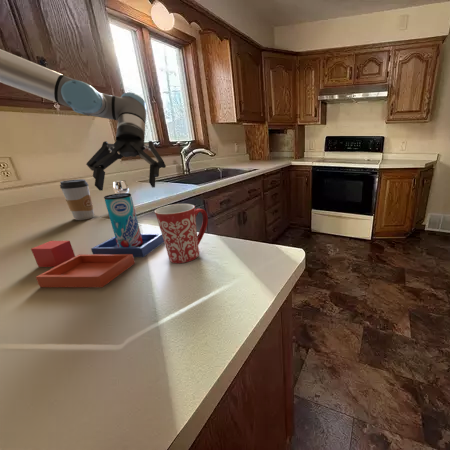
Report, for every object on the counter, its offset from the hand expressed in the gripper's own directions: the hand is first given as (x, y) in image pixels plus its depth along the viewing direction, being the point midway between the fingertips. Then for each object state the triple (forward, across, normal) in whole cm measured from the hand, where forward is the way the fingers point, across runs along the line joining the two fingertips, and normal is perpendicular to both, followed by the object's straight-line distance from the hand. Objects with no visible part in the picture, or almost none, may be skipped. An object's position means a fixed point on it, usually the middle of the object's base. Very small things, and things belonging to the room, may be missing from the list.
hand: (126, 186), depth 71 cm
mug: (+24, -17, 0) cm, 29 cm away
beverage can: (+17, 0, -6) cm, 18 cm away
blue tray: (+17, 0, -7) cm, 18 cm away
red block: (+20, +16, -4) cm, 25 cm away
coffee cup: (-12, +29, -36) cm, 47 cm away
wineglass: (-22, +19, -46) cm, 54 cm away
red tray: (+26, +4, +3) cm, 27 cm away
